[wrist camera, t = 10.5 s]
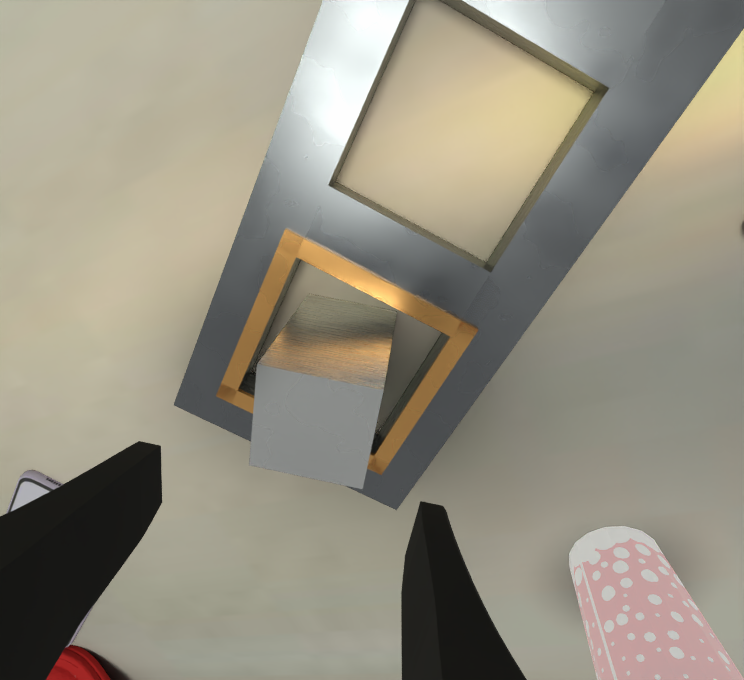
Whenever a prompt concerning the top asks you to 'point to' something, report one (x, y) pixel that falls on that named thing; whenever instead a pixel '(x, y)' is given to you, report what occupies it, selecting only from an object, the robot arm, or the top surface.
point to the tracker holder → (77, 666)
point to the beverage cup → (641, 612)
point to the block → (322, 391)
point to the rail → (423, 249)
